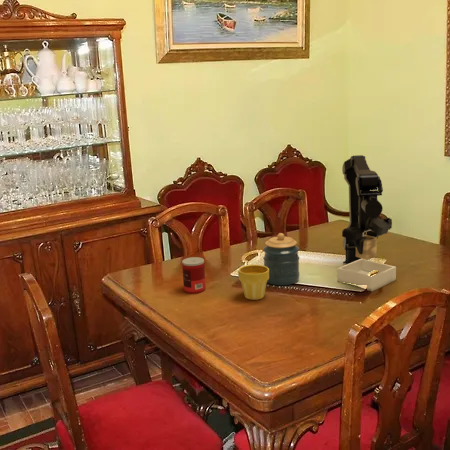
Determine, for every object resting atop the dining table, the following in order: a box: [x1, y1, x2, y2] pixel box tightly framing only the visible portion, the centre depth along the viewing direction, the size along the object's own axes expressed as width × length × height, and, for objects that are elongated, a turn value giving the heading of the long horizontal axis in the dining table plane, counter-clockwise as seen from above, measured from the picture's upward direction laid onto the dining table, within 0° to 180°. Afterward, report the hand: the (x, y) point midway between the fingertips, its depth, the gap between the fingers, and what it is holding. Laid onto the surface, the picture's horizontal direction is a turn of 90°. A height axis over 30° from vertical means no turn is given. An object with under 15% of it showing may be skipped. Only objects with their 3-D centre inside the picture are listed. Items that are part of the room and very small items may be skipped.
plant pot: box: [237, 264, 269, 301], centre depth 198 cm, size 10×10×10 cm
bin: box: [336, 258, 397, 292], centre depth 209 cm, size 15×15×5 cm
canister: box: [262, 232, 300, 286], centre depth 212 cm, size 13×13×18 cm
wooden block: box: [356, 235, 378, 260], centre depth 204 cm, size 5×5×7 cm
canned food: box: [181, 256, 206, 295], centre depth 206 cm, size 8×8×11 cm
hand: (365, 252), depth 205 cm, fingers closed on wooden block, 5 cm apart
